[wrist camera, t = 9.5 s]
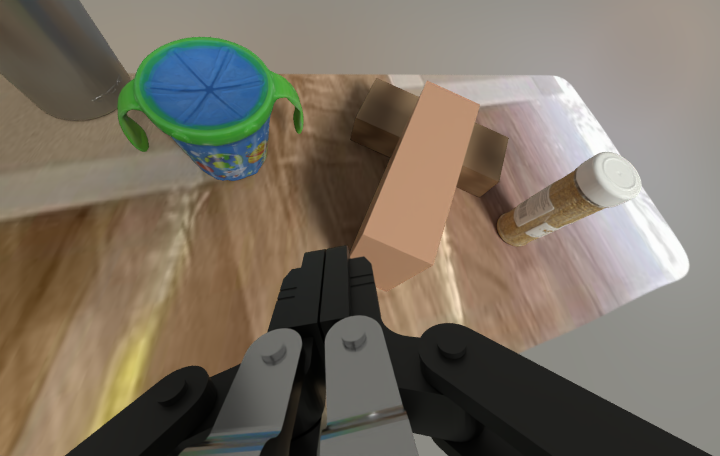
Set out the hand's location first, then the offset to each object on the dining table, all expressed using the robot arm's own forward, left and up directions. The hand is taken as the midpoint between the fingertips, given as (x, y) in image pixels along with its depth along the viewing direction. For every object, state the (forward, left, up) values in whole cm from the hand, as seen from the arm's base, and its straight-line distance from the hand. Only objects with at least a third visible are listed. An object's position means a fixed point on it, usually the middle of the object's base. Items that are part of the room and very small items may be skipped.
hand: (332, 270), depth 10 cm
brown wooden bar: (+4, +24, -20) cm, 32 cm away
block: (+3, +13, -20) cm, 24 cm away
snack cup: (-16, +12, -20) cm, 28 cm away
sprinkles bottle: (+18, +18, -20) cm, 33 cm away
